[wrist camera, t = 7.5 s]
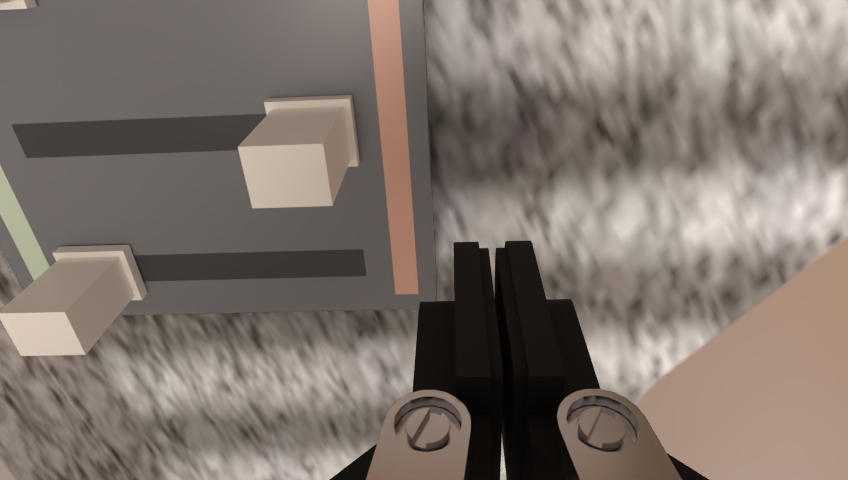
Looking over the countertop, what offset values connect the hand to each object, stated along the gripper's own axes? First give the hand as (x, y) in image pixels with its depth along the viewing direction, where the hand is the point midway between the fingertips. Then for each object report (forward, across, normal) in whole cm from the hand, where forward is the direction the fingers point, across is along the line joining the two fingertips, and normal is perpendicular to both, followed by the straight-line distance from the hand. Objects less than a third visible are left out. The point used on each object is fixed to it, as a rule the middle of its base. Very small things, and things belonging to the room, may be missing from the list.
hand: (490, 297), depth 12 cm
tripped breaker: (+13, +7, 0) cm, 14 cm away
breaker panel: (+15, +13, 0) cm, 20 cm away
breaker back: (+12, +19, +8) cm, 24 cm away
